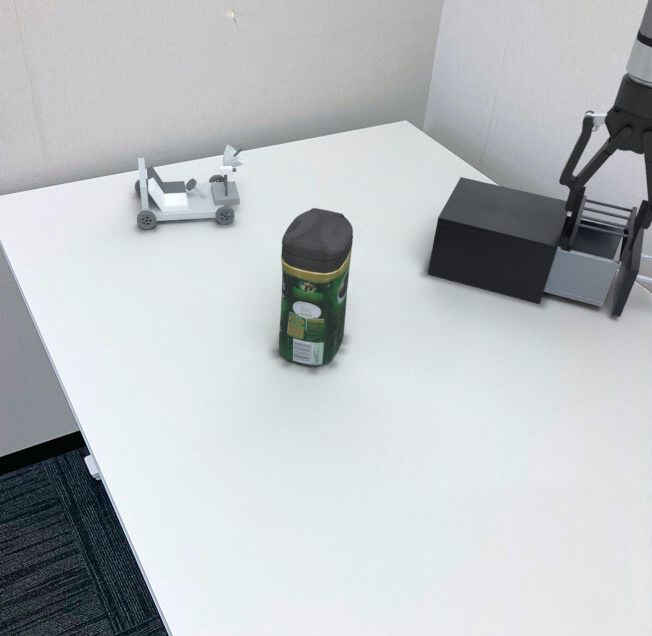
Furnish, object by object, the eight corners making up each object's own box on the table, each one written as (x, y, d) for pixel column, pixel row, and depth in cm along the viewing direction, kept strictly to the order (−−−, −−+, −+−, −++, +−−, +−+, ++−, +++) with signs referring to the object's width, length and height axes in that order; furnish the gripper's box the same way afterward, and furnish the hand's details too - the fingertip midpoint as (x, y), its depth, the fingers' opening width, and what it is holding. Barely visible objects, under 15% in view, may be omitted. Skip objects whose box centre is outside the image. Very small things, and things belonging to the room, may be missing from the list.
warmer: (553, 257, 118) (570, 201, 112) (539, 304, 108) (557, 246, 102) (449, 231, 122) (460, 176, 116) (427, 274, 112) (438, 217, 106)
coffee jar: (293, 317, 103) (299, 197, 91) (348, 330, 101) (362, 209, 89) (269, 361, 96) (272, 236, 84) (328, 375, 94) (340, 251, 82)
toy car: (240, 135, 124) (251, 167, 115) (241, 188, 130) (250, 223, 121) (129, 139, 120) (131, 173, 112) (135, 194, 127) (137, 230, 118)
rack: (628, 231, 108) (637, 207, 106) (623, 262, 102) (633, 237, 99) (574, 218, 110) (582, 194, 108) (566, 248, 104) (574, 223, 101)
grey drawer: (660, 280, 113) (680, 234, 108) (656, 327, 104) (677, 280, 99) (524, 246, 118) (537, 202, 113) (509, 288, 109) (522, 242, 104)
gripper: (745, 84, 91) (675, 243, 106) (574, 53, 97) (530, 209, 111) (747, 105, 86) (673, 270, 101) (566, 72, 91) (521, 233, 106)
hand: (598, 238), depth 106 cm, fingers closed on rack, 8 cm apart
